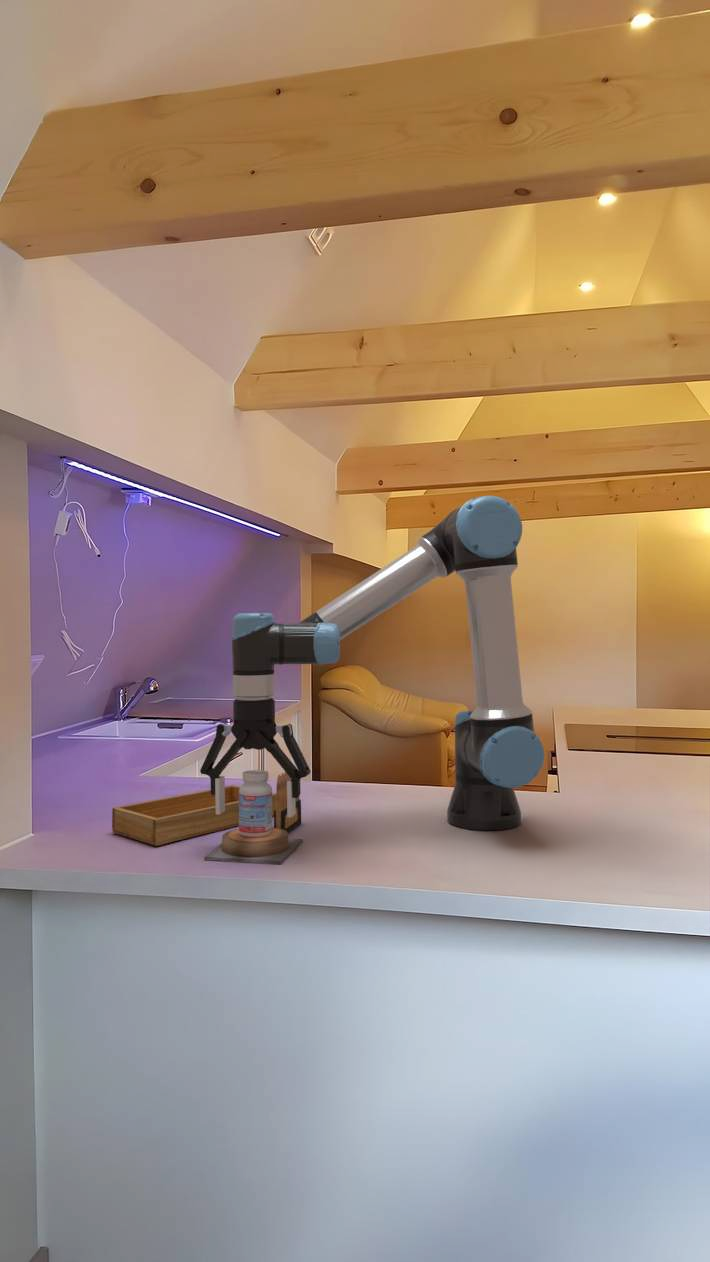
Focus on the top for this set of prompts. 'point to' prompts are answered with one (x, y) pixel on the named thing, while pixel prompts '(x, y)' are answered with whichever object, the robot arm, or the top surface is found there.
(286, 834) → the plinth
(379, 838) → the top surface
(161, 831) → the tray
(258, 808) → the pill bottle
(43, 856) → the top surface
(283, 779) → the colored pencil set
